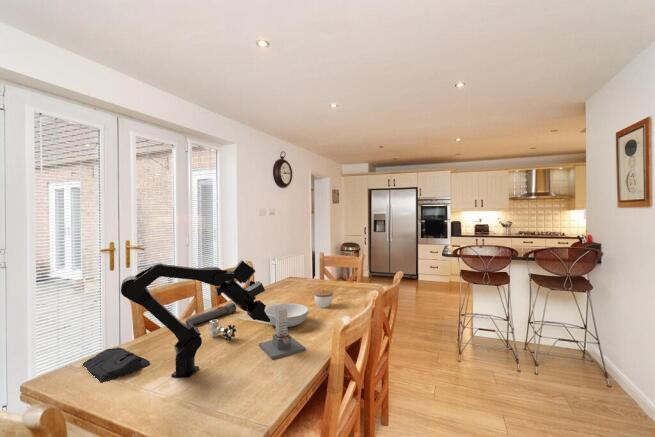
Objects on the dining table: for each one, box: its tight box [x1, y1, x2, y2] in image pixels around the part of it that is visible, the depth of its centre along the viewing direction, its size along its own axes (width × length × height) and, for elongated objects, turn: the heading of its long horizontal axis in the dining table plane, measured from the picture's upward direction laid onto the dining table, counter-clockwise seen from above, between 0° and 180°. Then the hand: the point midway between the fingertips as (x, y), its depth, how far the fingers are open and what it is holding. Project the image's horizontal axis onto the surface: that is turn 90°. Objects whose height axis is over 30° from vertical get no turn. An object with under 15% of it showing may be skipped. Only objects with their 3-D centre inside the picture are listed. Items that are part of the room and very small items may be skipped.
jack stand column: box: [275, 307, 289, 338], centre depth 124 cm, size 4×4×11 cm
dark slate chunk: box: [82, 346, 151, 383], centre depth 111 cm, size 15×22×5 cm
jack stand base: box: [258, 333, 307, 360], centre depth 124 cm, size 14×14×5 cm
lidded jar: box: [313, 289, 334, 309], centre depth 179 cm, size 11×11×9 cm
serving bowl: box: [265, 302, 309, 328], centre depth 151 cm, size 21×21×7 cm
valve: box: [209, 319, 237, 341], centre depth 135 cm, size 7×7×12 cm
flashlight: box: [185, 302, 237, 326], centre depth 159 cm, size 5×28×5 cm, turn 148°
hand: (265, 317), depth 120 cm, fingers open, 9 cm apart
